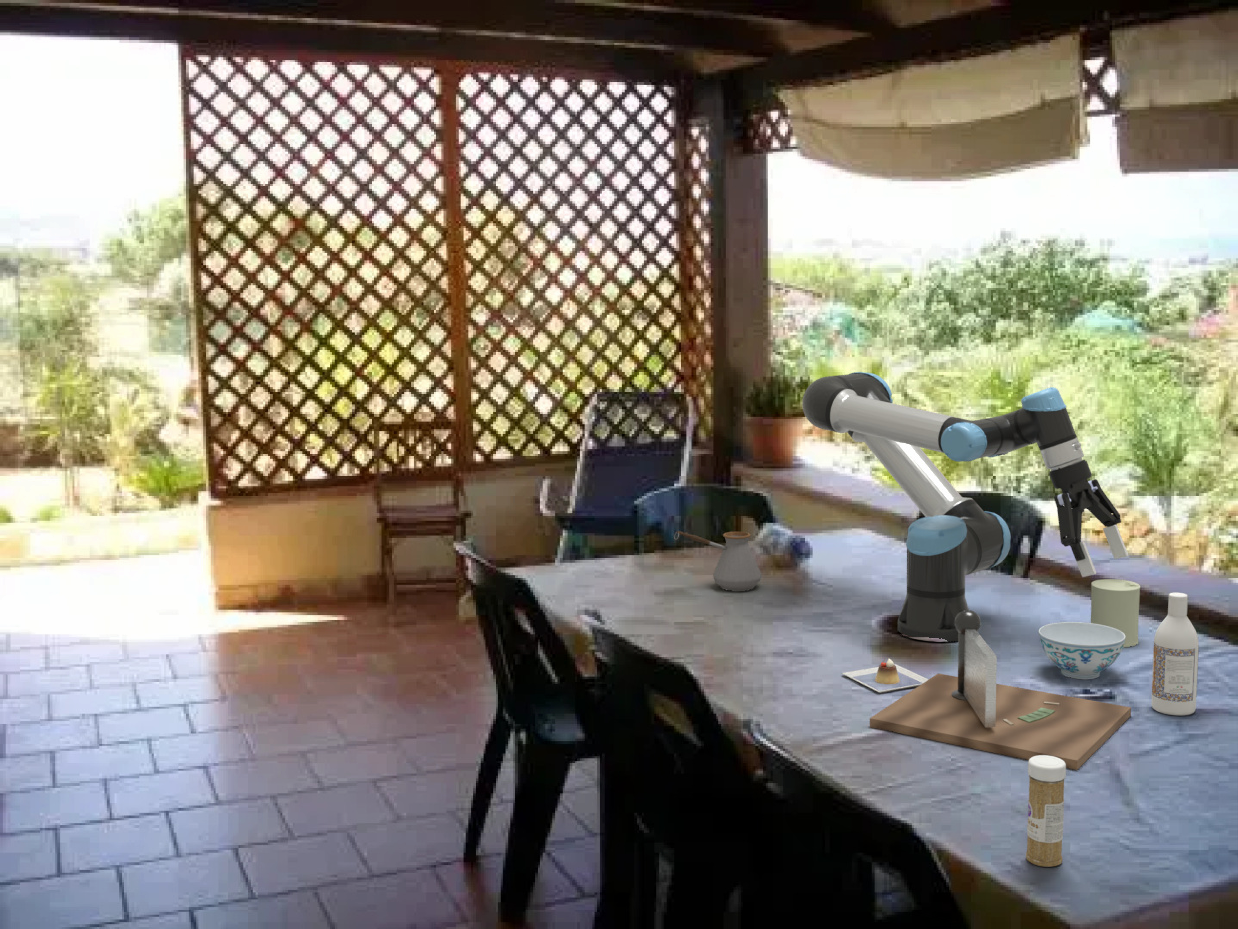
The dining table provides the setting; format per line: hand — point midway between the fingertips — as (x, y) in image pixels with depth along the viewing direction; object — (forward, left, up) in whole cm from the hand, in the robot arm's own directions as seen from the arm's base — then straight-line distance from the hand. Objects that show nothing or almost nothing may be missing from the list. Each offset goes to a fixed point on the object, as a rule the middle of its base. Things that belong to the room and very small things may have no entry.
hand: (1105, 566), depth 258 cm
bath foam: (+21, -32, -16) cm, 42 cm away
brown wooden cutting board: (-1, -53, -16) cm, 56 cm away
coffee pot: (-88, -3, -16) cm, 89 cm away
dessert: (-26, -44, -16) cm, 53 cm away
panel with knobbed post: (-4, -55, -13) cm, 57 cm away
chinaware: (+2, -21, -16) cm, 27 cm away
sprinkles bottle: (+22, -99, -16) cm, 103 cm away
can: (+1, +3, -16) cm, 16 cm away
